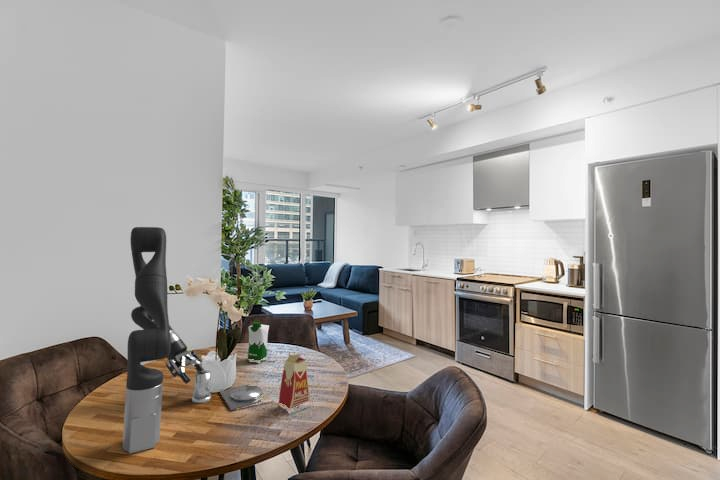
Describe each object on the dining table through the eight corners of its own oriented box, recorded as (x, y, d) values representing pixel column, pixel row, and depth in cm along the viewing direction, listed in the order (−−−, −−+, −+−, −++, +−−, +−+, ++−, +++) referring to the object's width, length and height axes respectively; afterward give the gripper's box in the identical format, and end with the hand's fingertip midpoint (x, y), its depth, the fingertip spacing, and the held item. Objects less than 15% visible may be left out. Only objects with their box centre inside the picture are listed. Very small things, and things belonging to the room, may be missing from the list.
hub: (212, 400, 128) (214, 374, 128) (193, 404, 124) (195, 377, 125) (209, 394, 133) (210, 368, 134) (190, 397, 130) (192, 371, 130)
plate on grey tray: (273, 401, 130) (274, 396, 130) (230, 411, 121) (230, 405, 121) (258, 384, 144) (259, 380, 144) (219, 392, 135) (219, 387, 135)
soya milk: (244, 362, 171) (246, 322, 172) (255, 357, 180) (257, 319, 180) (259, 364, 169) (261, 324, 169) (269, 359, 177) (271, 321, 178)
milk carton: (310, 406, 127) (313, 353, 127) (289, 414, 120) (292, 357, 121) (297, 398, 133) (299, 347, 134) (276, 405, 127) (278, 351, 127)
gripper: (164, 343, 124) (190, 378, 122) (190, 334, 138) (214, 365, 136) (150, 356, 125) (176, 391, 123) (177, 346, 139) (201, 377, 137)
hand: (196, 377), depth 130 cm, fingers open, 8 cm apart
